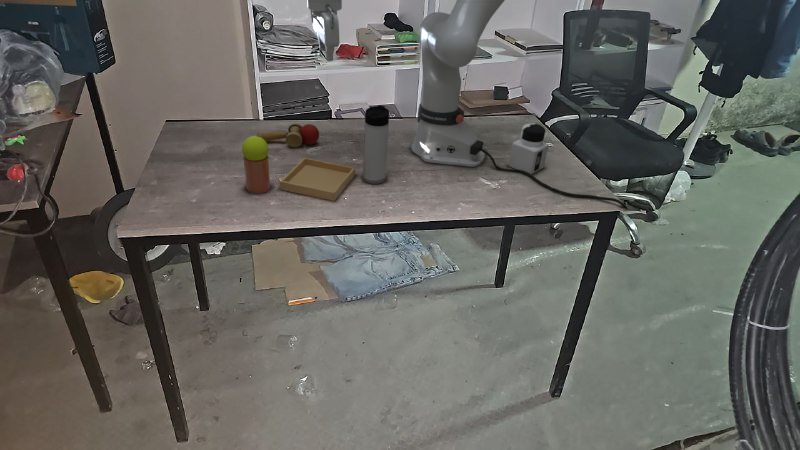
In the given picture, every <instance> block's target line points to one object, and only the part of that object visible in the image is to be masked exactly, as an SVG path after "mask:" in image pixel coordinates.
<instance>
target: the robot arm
mask: <svg viewBox="0 0 800 450" xmlns="http://www.w3.org/2000/svg"><path fill="white" fill-rule="evenodd" d="M505 1H506V0H456V1H455V3H454V6H453V7H452V9H451V11H450V13H446V12H439V11H438V12H437V11H434V12H431V13H429V14H427V15H426V16H425V17H424V18H423V19H422V21H421V22H420V26H419V35H420V43H421V44H420V45H421V67H422V83H421V97H420V103H419V104H418V110H417V127H416V131H415V132H416V133H415V135H414V136H415V137H414V140H413V141H412V144H411V147H410V148H411V151H412V152H413V153H414V154H416V155H417V156H418V157H420V158H421V159H422V160H423V162H424V163H430V164H431V163H432V164H442V165H450V166H460V167H468V168H469V167H470V168H474V167H477V166H480V165H481V164H482V163H483V162H484V160H485V157H486V156H487V157H488V158H489V159H490V160H491V162H492V165H493V166H494V168H495V169H497V170H499V171H502V172H510V173H511V172H512V173H520V174H524V175H527V176H528V177H529V178H531V179H532V180H533V181H535V182H536V183H537V184H539V185H541V186H542V187H544V188H546V189H548V190H550V191H553V192H556V193H558V194H561V195H564V196H569V197H574V198H586V199H587V198H588V199H594V200H601V201H611V202H615V203H617V204H619V205H621V206H622V207H623V209H625V210H628V207H627V205H626V204H625V203H624V202H623V201H621V200H620V199H617V198H613V197H606V196H598V195H594V194H593V195H592V194H583V193H582V194H581V193H580V194H578V193H572V192H567V191H563V190H560V189H557V188H555V187H553V186H550V185H548V184H547V183H544V182H542V181H541V180H539V179H538V178H536V177H535V176H534V175H533V174H530V173H528V172H526V171H523V170H518V169H514V168H502V167H501V166H498V164H497V163H496V161H495V159H494V157H493V155H492V154H491V153H489V152H488V151H487V150H486V149H485V148H484V141H481V140H479V135H478V133H477V131H475V130H474V128H472V127H471V126H470V125H469V124H468V123H467V122H466V121H465V111H466V110H465V108H463V109H462V108H461V107H460V106H459V103H460V96H461V89H462V79H461V71H460V68H463V67H465V66H467V65H469V64H470V63H471V62H472V61H473V60H474V58H475V56H476V54H477V49H478V44H479V41H480V39H481V37H482V35H483V34H484V31H485V30H486V27H487V25H488V24H489V22H490V20H491V19H492V17H493V16H494V15H495V14H496V12H497V11H498V10H499V8H500V7H501V6H502V5H503V4H504V2H505ZM306 3H307V9H309V10H310V18H311V25H312V29H313V30H314V32H315V33H316V34H317V40H318V49H319V50H320V51H321V52H324V51H325V55H324V56H325V60H326V61H327V62H333V61H334V52H335V48H338V47H340V25H339V17H338V11H340V10H342V8H343V0H307V1H306Z"/></svg>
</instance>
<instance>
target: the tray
mask: <svg viewBox="0 0 800 450" xmlns="http://www.w3.org/2000/svg"><path fill="white" fill-rule="evenodd" d="M355 176H356V167H354V166H348V165H344V164H338V163H334V162H329V161H324V160H318V159H314V158H310V157H303V158H302V159H301V160H300V161H299V162H298V163H297V164H296V165H295V166H294V167H293V168H292V169H291V170H290V171H288V173H286V175H284V176H283V177H282V178H281V179H280V180H279V190H281V191H285V192H291V193H295V194H300V195H304V196H309V197H314V198H318V199H321V200H322V199H323V200H328V201H332V202H335V201H336V200H337V198H338V197H339V196H340V195H341V193H343V191H344V190H345V189H346V188H347V186H348V185H349V184H350V182H351V181H352V180H353V179H354V177H355Z"/></svg>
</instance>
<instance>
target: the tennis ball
mask: <svg viewBox="0 0 800 450" xmlns="http://www.w3.org/2000/svg"><path fill="white" fill-rule="evenodd" d="M241 152H242V154H243V157H244V156H245V158H246V159H248V160H250V161H260V160H263V159H265V158H266V156H267V155H268V154H269V145H268V143H267V141H265V140H264V139H262V138H261V137H258V135H257V136H256V135H252V136H249V137H247V138H246V139H245V140H244V141H243V143H242V144H241ZM268 156H269V155H268Z"/></svg>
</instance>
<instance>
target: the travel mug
mask: <svg viewBox="0 0 800 450" xmlns="http://www.w3.org/2000/svg"><path fill="white" fill-rule="evenodd" d="M389 126H390V110H389V109H388V108H387V107H386V106H385V105H381V104H378V105H377V106H376V105H375V106H370V107H367V109H365V111H364V131H363V154H362V155H363V156H362V157H363V158H362V159H363V160H362V180H363V181H364V182H366V183H368V184H372V185H377V184H378V185H379V184H382V183H383V182H385V181H386V179H387V178H386V176H387V175H386V173H387V161H388V145H389V144H388V143H389V130H390V129H389Z"/></svg>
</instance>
